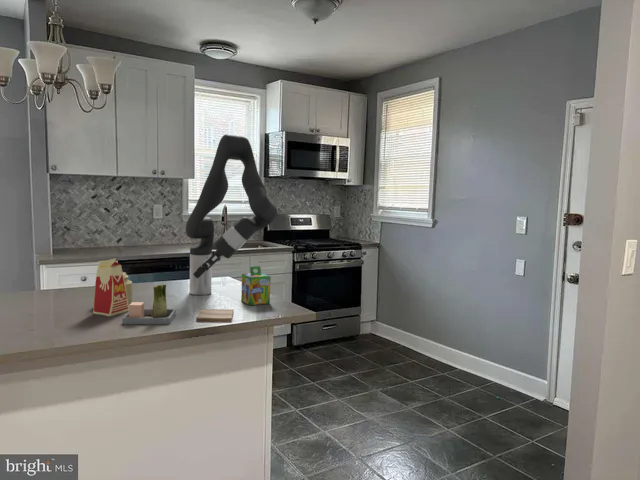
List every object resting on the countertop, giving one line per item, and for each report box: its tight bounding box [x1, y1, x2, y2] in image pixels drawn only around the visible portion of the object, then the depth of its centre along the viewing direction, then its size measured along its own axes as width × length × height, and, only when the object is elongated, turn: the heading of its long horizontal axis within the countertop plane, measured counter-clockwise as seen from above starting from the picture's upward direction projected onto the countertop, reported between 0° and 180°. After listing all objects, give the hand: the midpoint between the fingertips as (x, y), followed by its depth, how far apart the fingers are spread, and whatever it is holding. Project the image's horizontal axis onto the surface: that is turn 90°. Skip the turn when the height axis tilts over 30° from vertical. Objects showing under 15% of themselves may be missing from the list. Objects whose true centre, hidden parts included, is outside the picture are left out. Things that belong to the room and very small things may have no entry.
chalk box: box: [240, 265, 272, 306], centre depth 191 cm, size 9×9×15 cm
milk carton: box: [92, 257, 129, 317], centre depth 168 cm, size 9×9×20 cm
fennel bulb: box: [151, 283, 168, 318], centre depth 163 cm, size 6×5×12 cm
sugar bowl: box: [122, 271, 133, 305], centre depth 182 cm, size 15×11×15 cm
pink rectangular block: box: [128, 301, 145, 318], centre depth 160 cm, size 4×4×6 cm
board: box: [195, 308, 234, 323], centre depth 168 cm, size 12×12×1 cm
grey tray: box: [121, 308, 177, 325], centre depth 163 cm, size 12×15×2 cm
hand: (196, 274), depth 164 cm, fingers open, 8 cm apart
